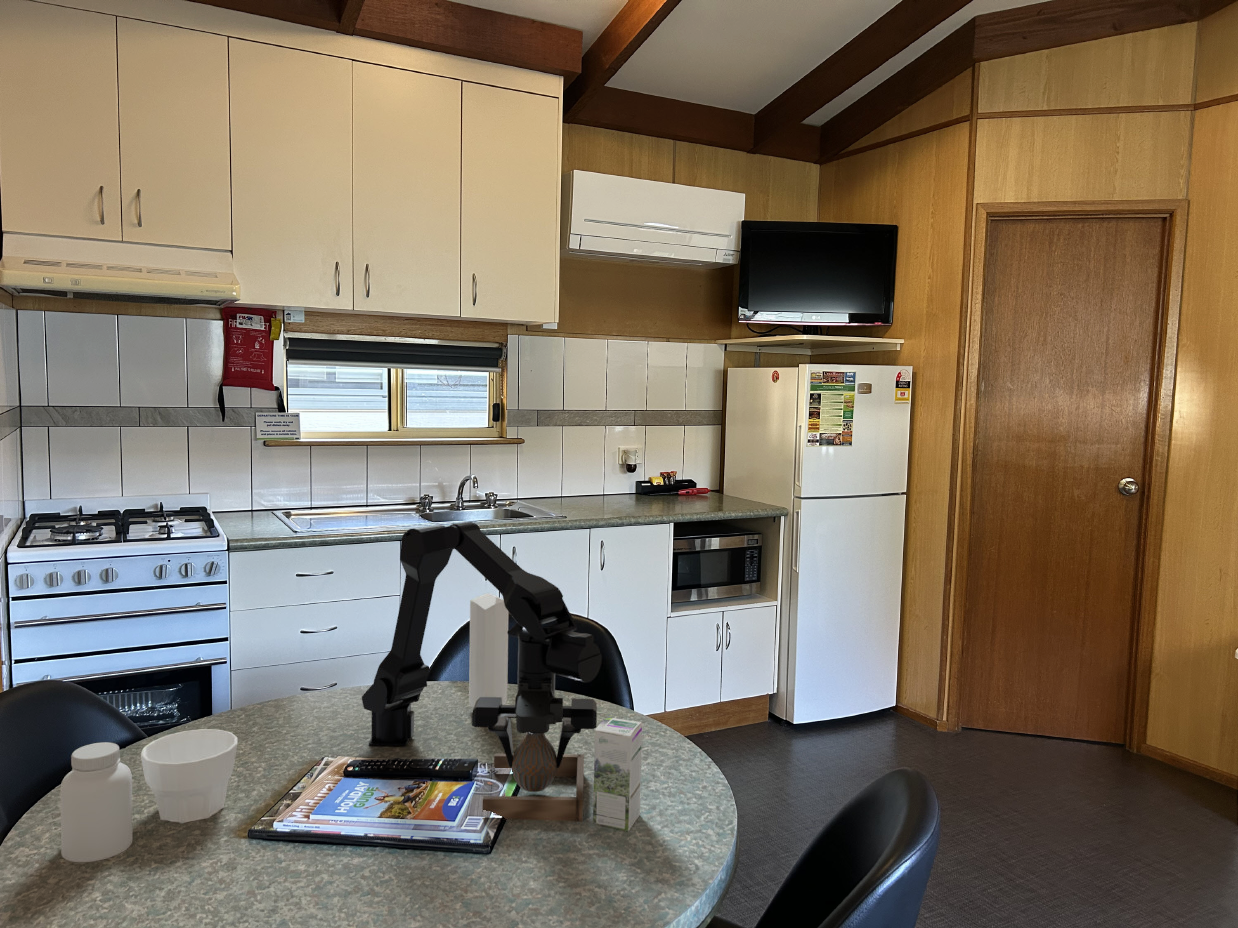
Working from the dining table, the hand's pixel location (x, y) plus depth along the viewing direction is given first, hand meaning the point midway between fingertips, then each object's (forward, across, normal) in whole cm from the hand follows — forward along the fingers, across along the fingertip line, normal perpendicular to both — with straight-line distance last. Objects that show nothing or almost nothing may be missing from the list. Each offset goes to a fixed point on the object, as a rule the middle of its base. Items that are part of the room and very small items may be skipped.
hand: (534, 766), depth 133 cm
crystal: (+5, -11, +33) cm, 36 cm away
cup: (+5, -48, -8) cm, 49 cm away
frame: (+5, 0, 0) cm, 5 cm away
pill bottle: (+5, -55, -19) cm, 59 cm away
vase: (+3, 0, 0) cm, 3 cm away
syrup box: (+5, +13, -7) cm, 15 cm away
